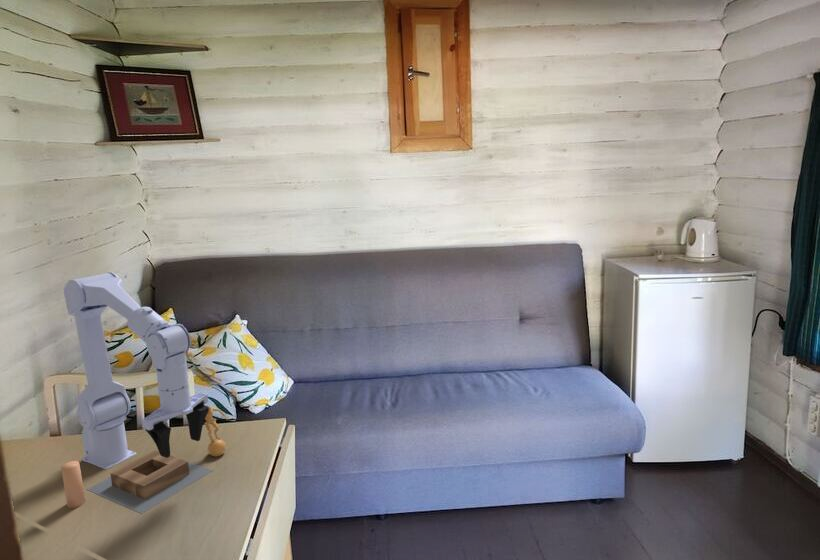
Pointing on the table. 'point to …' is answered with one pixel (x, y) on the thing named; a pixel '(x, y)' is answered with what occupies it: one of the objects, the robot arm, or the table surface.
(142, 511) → the mat
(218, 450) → the figurine
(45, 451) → the table surface
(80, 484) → the dowel
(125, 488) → the square frame
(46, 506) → the table surface
